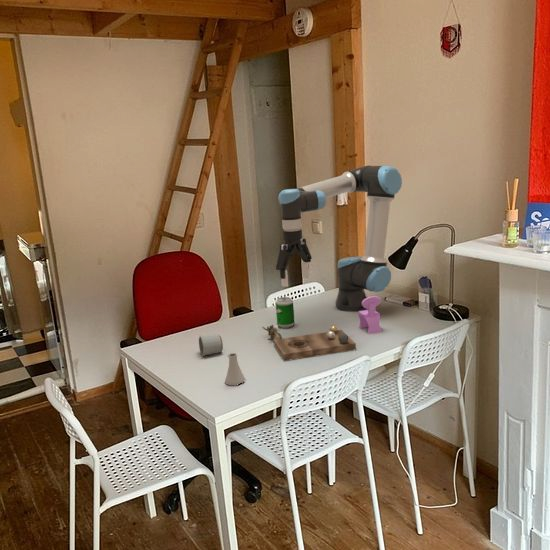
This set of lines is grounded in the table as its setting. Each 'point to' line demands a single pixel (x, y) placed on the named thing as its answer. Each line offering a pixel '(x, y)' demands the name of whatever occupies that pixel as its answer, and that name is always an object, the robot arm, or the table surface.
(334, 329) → the brass ball
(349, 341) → the board
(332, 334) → the steel ball
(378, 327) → the toy chair
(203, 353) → the grey cylinder
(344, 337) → the black rubber ball
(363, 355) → the table surface
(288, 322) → the soda can
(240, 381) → the flask
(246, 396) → the table surface
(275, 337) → the eagle figurine
